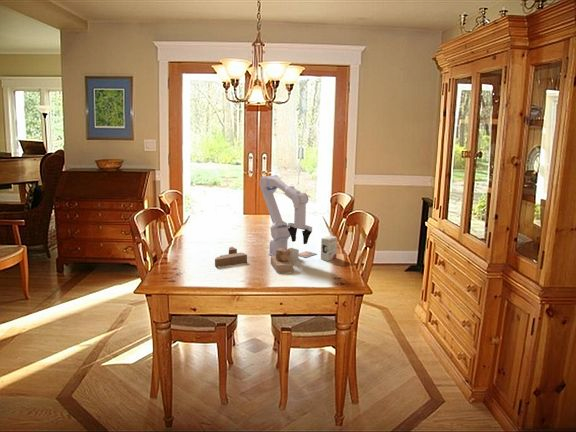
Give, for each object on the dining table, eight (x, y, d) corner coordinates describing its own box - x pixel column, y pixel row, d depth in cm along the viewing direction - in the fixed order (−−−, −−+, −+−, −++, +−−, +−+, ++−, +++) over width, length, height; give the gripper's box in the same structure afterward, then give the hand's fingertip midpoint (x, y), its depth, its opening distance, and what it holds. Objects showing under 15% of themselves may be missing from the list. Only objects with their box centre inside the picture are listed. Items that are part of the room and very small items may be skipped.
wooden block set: (249, 252, 253) (216, 257, 243) (248, 263, 254) (216, 268, 244) (234, 244, 267) (202, 249, 257) (234, 254, 268) (203, 259, 258)
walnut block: (276, 259, 246) (276, 249, 245) (282, 257, 250) (282, 247, 249) (283, 261, 243) (284, 251, 242) (290, 259, 247) (290, 249, 246)
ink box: (329, 256, 269) (330, 235, 267) (336, 258, 266) (337, 236, 264) (320, 259, 263) (321, 237, 260) (327, 261, 260) (328, 239, 257)
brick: (293, 273, 240) (293, 263, 239) (276, 274, 238) (277, 264, 237) (285, 263, 256) (285, 254, 255) (269, 264, 254) (270, 255, 253)
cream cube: (285, 258, 262) (285, 249, 261) (291, 256, 266) (291, 247, 265) (292, 260, 259) (292, 251, 258) (298, 258, 263) (298, 249, 262)
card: (295, 255, 269) (295, 254, 269) (306, 251, 276) (306, 251, 276) (305, 257, 264) (305, 257, 264) (316, 254, 272) (316, 253, 272)
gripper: (284, 215, 254) (283, 241, 257) (306, 219, 245) (305, 246, 247) (292, 214, 259) (292, 239, 262) (314, 217, 250) (314, 243, 253)
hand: (299, 242), depth 255 cm, fingers open, 7 cm apart
